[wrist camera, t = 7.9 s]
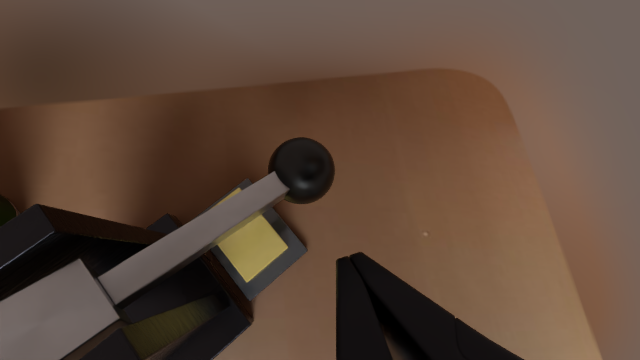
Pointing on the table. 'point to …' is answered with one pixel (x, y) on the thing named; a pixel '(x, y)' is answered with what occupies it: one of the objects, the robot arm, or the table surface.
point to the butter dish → (272, 271)
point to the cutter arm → (147, 264)
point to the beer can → (7, 210)
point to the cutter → (147, 311)
